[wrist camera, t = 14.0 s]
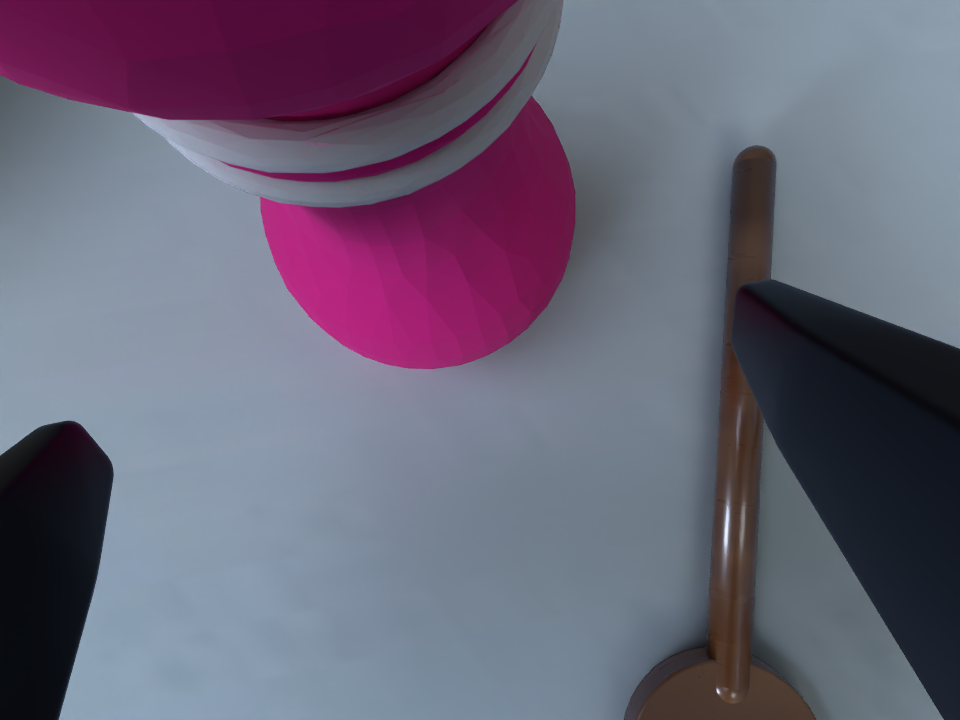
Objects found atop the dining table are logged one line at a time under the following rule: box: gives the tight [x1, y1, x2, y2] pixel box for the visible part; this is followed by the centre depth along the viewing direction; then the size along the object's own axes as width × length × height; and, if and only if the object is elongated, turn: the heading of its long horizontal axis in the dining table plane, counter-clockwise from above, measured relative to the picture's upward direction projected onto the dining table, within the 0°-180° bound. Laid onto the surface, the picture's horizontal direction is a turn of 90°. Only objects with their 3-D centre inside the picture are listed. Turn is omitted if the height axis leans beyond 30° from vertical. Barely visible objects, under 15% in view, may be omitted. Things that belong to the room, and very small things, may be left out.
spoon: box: [624, 145, 816, 720], centre depth 17 cm, size 22×5×1 cm, turn 175°
